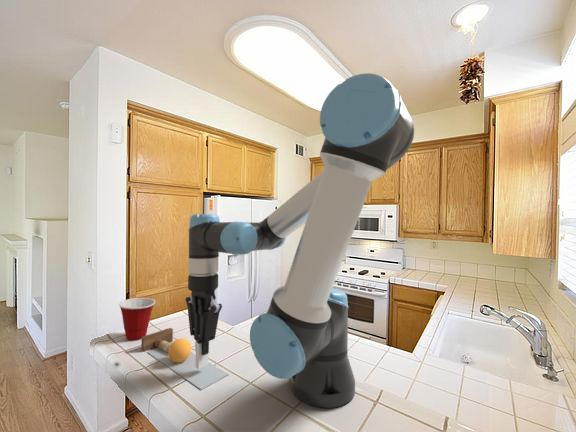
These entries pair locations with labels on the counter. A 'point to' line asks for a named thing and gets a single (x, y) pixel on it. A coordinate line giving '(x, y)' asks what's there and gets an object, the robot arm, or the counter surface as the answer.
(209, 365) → the lane mark
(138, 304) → the plastic cup
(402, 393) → the counter surface
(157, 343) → the pin
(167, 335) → the board
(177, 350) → the ball
